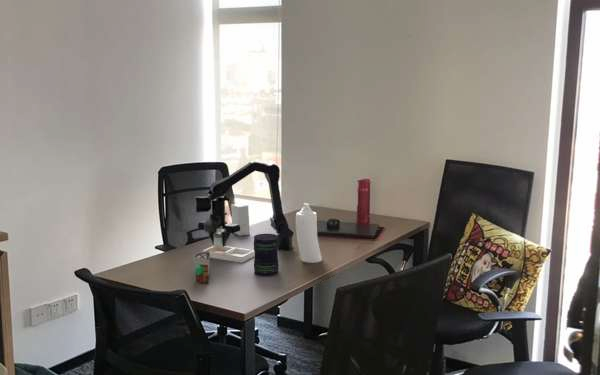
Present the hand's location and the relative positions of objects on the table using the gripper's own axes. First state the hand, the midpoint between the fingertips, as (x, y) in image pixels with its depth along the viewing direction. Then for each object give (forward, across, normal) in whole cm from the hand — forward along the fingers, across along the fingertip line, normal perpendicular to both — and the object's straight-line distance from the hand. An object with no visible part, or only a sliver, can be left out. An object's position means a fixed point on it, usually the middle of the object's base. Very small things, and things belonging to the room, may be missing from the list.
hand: (219, 245), depth 270 cm
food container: (+4, +13, -32) cm, 35 cm away
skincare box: (+4, -11, +36) cm, 38 cm away
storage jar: (+4, +31, -13) cm, 34 cm away
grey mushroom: (+2, 0, 0) cm, 2 cm away
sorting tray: (+4, +5, 0) cm, 6 cm away
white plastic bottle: (+4, +39, +10) cm, 40 cm away
